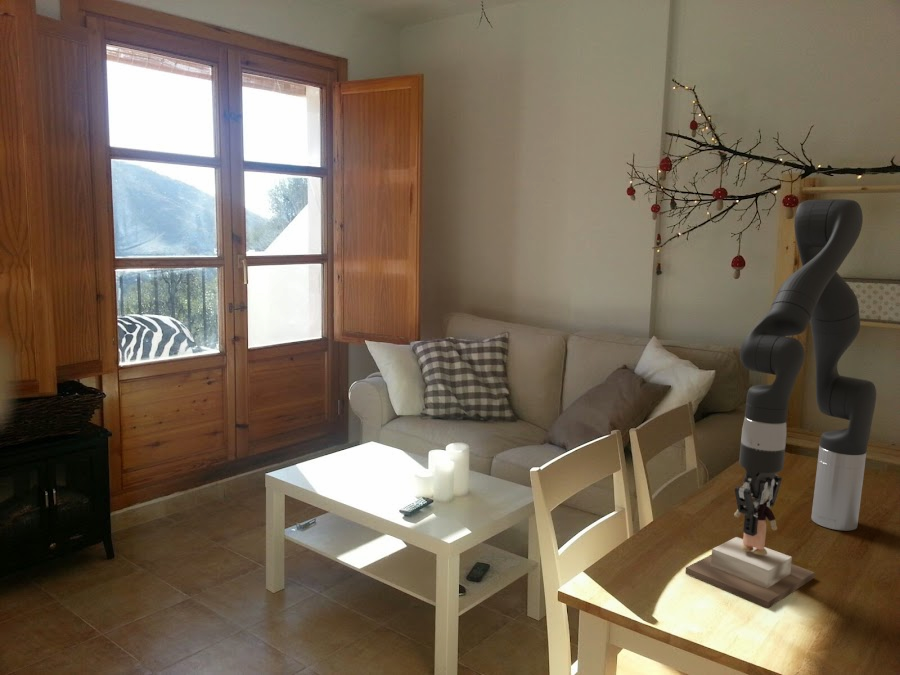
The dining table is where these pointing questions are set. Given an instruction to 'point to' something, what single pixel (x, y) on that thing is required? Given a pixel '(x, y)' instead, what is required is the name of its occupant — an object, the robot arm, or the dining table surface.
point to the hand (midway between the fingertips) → (754, 531)
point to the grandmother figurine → (759, 528)
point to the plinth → (748, 586)
